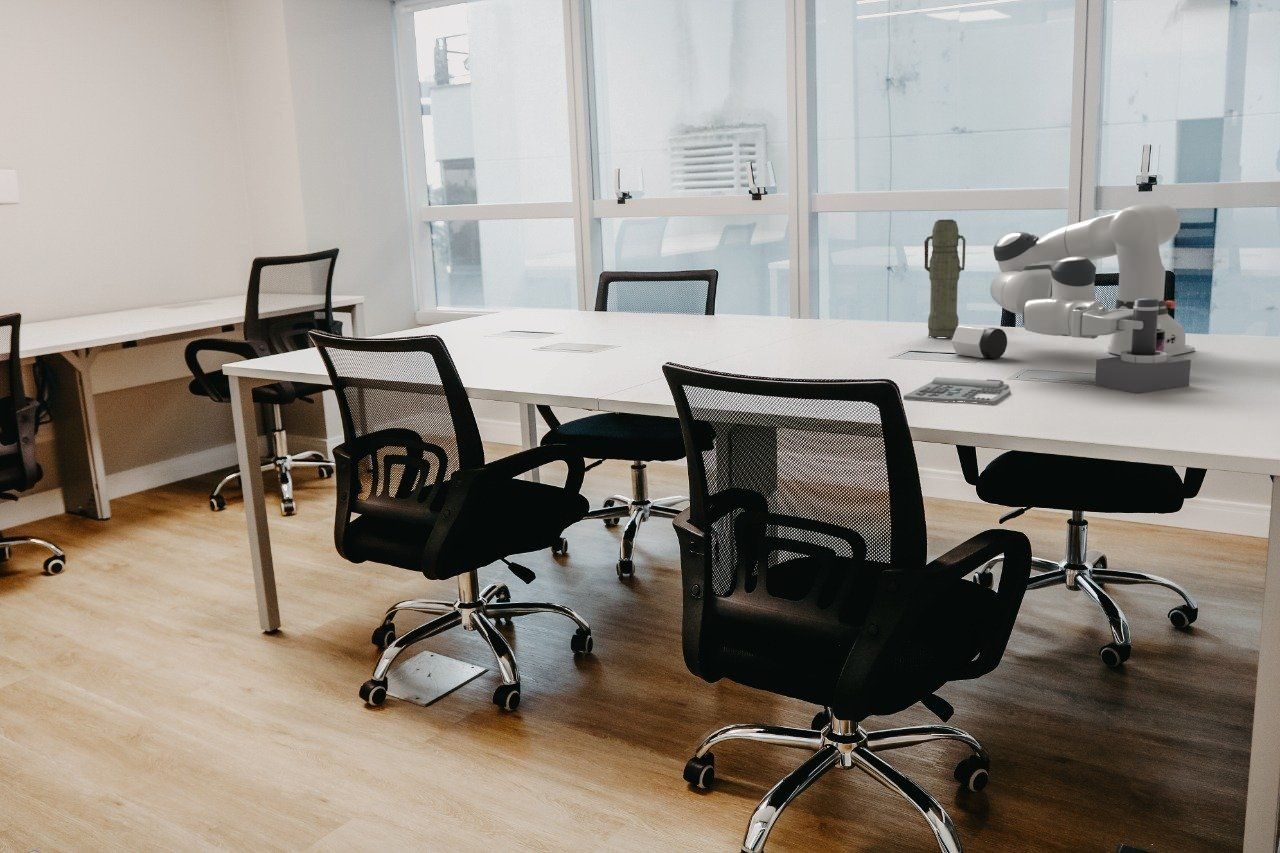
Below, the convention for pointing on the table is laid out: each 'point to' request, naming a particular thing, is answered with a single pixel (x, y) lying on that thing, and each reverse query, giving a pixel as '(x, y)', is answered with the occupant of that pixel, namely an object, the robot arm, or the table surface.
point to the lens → (1147, 336)
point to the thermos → (944, 277)
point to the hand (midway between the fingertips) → (1149, 323)
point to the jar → (979, 341)
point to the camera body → (1142, 372)
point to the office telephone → (959, 390)
